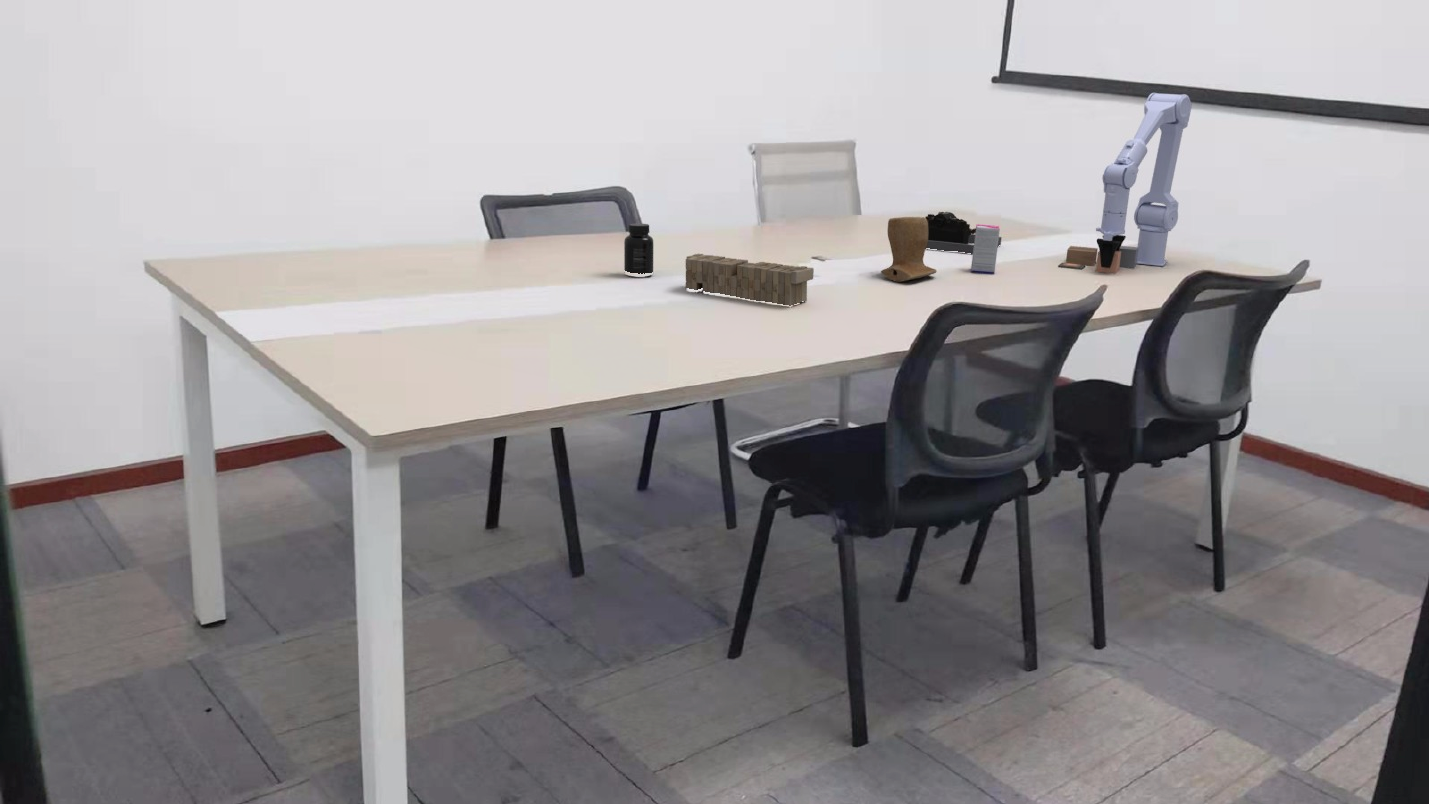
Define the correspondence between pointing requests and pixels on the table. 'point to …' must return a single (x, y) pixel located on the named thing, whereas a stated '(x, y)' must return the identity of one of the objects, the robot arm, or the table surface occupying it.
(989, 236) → the supplement box
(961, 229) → the film camera
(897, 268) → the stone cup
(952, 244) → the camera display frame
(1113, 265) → the terracotta cube
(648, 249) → the supplement bottle
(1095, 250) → the walnut block
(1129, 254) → the charcoal cube
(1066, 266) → the card
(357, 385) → the table surface
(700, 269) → the block tower
